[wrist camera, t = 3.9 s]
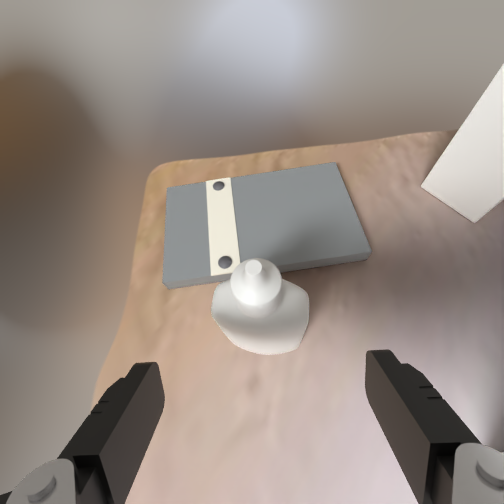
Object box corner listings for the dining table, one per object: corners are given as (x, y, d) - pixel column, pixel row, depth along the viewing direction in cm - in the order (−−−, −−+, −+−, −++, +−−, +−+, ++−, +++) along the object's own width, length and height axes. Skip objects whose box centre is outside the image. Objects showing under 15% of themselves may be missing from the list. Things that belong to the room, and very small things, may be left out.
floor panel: (332, 172, 29) (335, 160, 27) (366, 259, 24) (372, 250, 22) (171, 197, 29) (166, 186, 28) (168, 289, 24) (161, 282, 22)
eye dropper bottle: (252, 292, 23) (232, 203, 12) (309, 330, 21) (341, 261, 11) (221, 334, 21) (168, 272, 11) (279, 379, 19) (282, 356, 9)
